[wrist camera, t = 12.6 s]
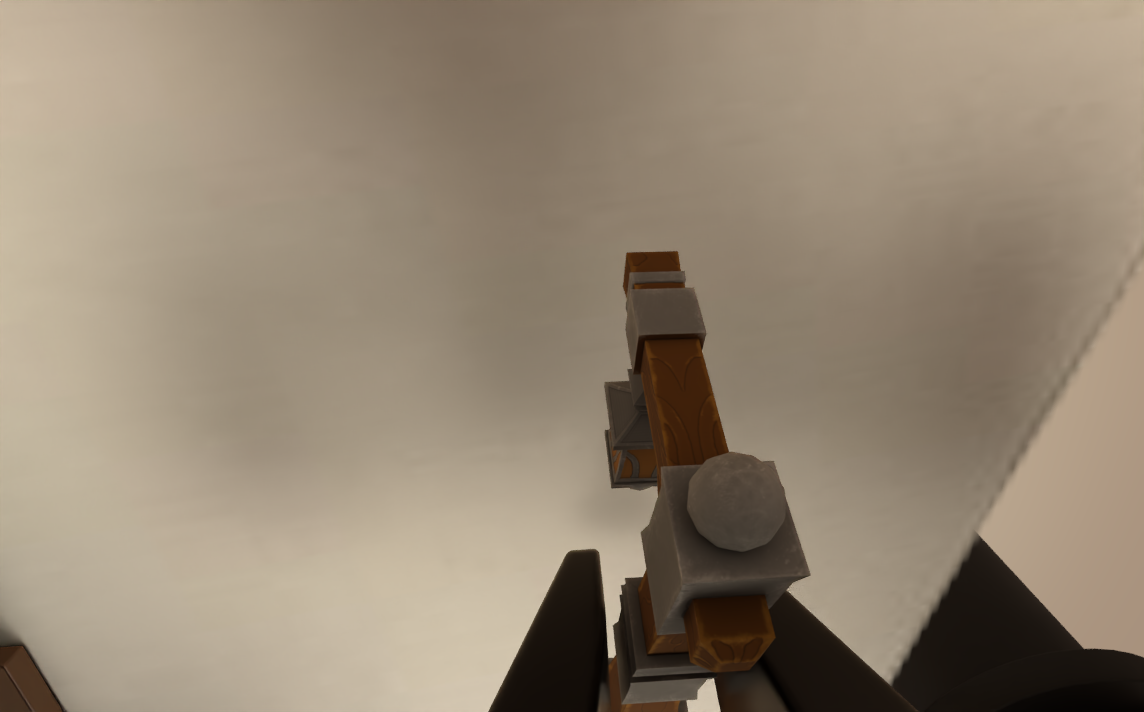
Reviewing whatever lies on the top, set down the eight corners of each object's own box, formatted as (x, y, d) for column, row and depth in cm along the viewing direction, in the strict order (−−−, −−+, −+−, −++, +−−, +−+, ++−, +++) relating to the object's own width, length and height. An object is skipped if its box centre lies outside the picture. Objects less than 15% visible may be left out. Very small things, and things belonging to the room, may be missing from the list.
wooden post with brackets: (743, 184, 7) (926, 589, 4) (655, 527, 13) (700, 794, 10) (580, 186, 7) (633, 605, 4) (568, 531, 13) (584, 803, 10)
